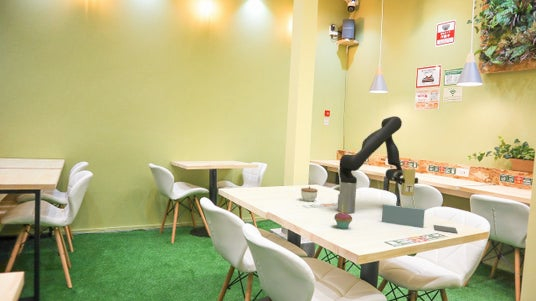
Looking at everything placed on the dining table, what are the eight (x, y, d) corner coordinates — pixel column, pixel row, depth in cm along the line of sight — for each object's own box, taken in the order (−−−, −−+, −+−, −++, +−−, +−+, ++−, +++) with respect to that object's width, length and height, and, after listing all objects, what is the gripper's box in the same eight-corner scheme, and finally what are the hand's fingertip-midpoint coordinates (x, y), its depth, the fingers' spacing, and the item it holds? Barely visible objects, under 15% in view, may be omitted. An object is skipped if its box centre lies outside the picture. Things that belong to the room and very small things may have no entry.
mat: (434, 230, 172) (434, 229, 172) (433, 225, 181) (433, 224, 181) (457, 233, 168) (457, 232, 168) (455, 228, 177) (455, 227, 177)
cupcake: (348, 230, 162) (349, 205, 162) (330, 227, 167) (332, 202, 166) (353, 227, 169) (355, 202, 169) (337, 224, 174) (338, 200, 173)
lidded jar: (298, 201, 229) (299, 186, 229) (302, 198, 239) (303, 185, 239) (314, 203, 225) (315, 188, 225) (318, 200, 235) (319, 186, 235)
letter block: (401, 193, 190) (403, 168, 189) (410, 194, 189) (412, 168, 188) (403, 195, 184) (405, 168, 184) (413, 196, 184) (415, 169, 183)
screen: (381, 221, 184) (382, 204, 183) (382, 221, 186) (383, 204, 185) (423, 227, 176) (424, 210, 175) (423, 226, 178) (424, 209, 177)
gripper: (389, 170, 201) (396, 173, 184) (415, 171, 200) (424, 175, 183) (388, 183, 202) (395, 187, 185) (414, 185, 200) (423, 189, 183)
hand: (409, 181), depth 184 cm, fingers closed on letter block, 5 cm apart
